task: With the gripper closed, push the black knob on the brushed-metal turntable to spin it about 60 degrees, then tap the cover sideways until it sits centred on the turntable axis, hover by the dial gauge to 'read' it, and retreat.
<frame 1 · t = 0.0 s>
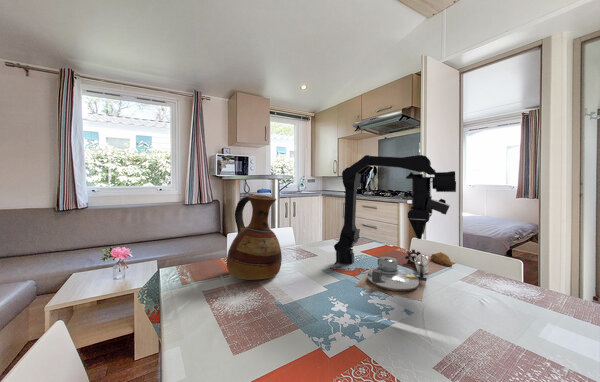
hand: (420, 236, 84), 15 cm above the table, fingers open, 9 cm apart
croissant: (440, 264, 98), on the table
cover: (387, 270, 84), point 3 cm above the table, touching turntable
valve: (418, 271, 91), on the table
base board: (392, 284, 79), on the table
dial gauge: (421, 277, 81), resting on base board
ceramic pitcher: (255, 275, 88), on the table
turntable: (392, 273, 79), point 4 cm above the table, hinge at 0.0°, touching cover
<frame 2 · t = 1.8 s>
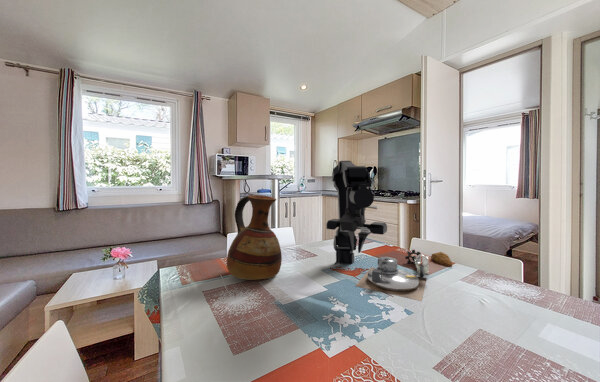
hand: (355, 252, 78), 11 cm above the table, fingers closed
nothing on the table moved.
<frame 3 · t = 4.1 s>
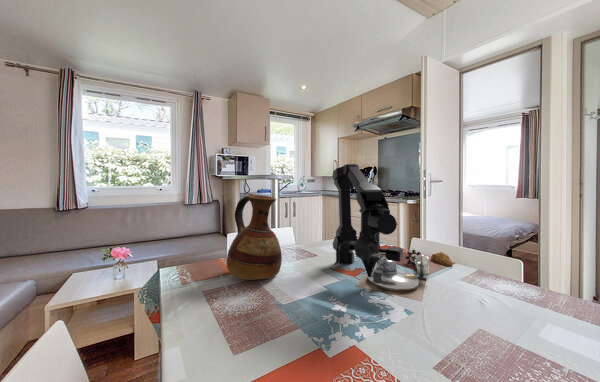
hand: (369, 276, 76), 4 cm above the table, fingers closed
turntable: (392, 273, 79), point 4 cm above the table, hinge at 3.7°, touching cover, gripper
everything else where it was.
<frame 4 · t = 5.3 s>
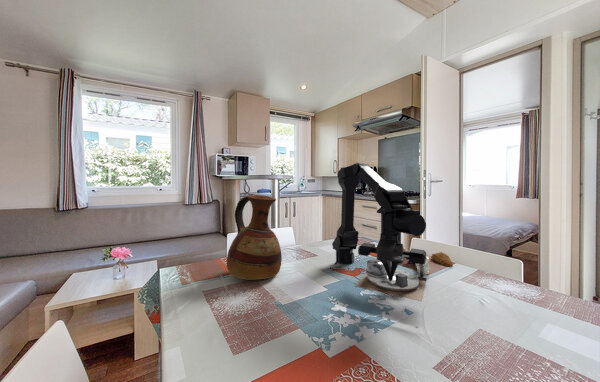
hand: (390, 280, 72), 4 cm above the table, fingers closed
cover: (376, 273, 81), point 3 cm above the table, touching turntable
turntable: (392, 273, 79), point 4 cm above the table, hinge at 62.1°, touching cover, gripper
everything else where it was.
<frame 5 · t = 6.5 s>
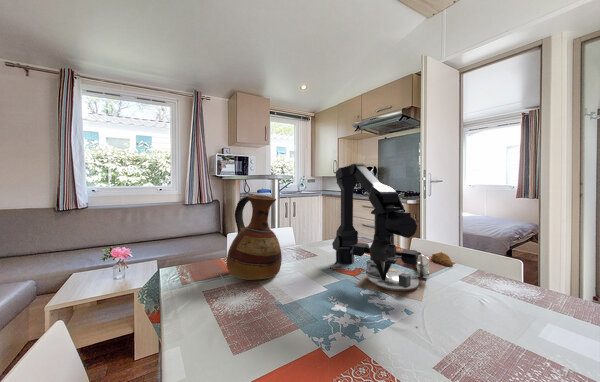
hand: (383, 280, 74), 3 cm above the table, fingers closed
turntable: (392, 273, 79), point 4 cm above the table, hinge at 69.9°, touching cover
everything else where it was.
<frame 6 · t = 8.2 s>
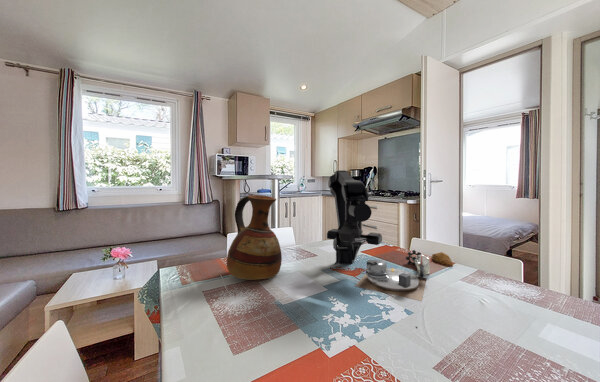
hand: (353, 259, 86), 6 cm above the table, fingers closed
nothing on the table moved.
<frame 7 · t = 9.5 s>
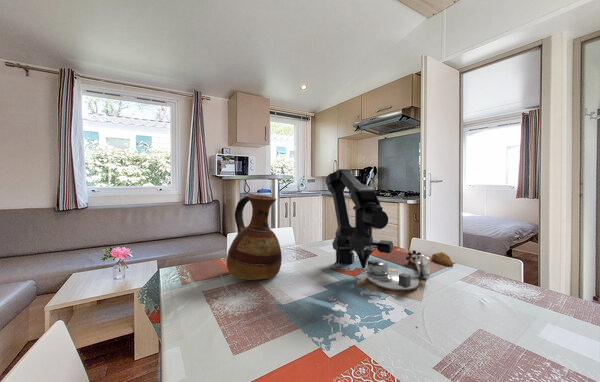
hand: (363, 268, 84), 4 cm above the table, fingers closed
cover: (377, 274, 80), point 3 cm above the table, touching gripper
turntable: (392, 273, 79), point 4 cm above the table, hinge at 70.0°
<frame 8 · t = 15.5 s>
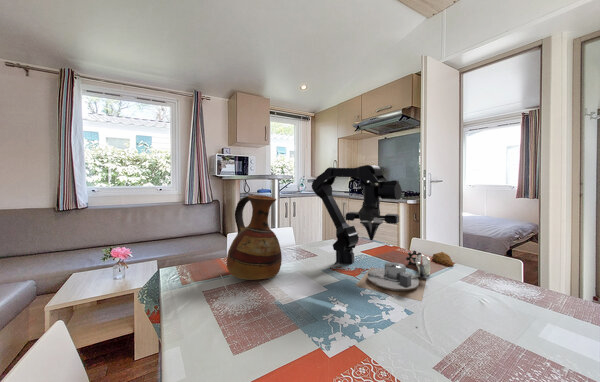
hand: (371, 240, 90), 12 cm above the table, fingers closed
cover: (395, 277, 78), point 3 cm above the table, touching turntable
turntable: (392, 273, 79), point 4 cm above the table, hinge at 72.0°, touching cover
at the end: turntable at +72° (first picture: +0°); cover 1.2 cm from the turntable (horizontally); cover tilted 0° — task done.
